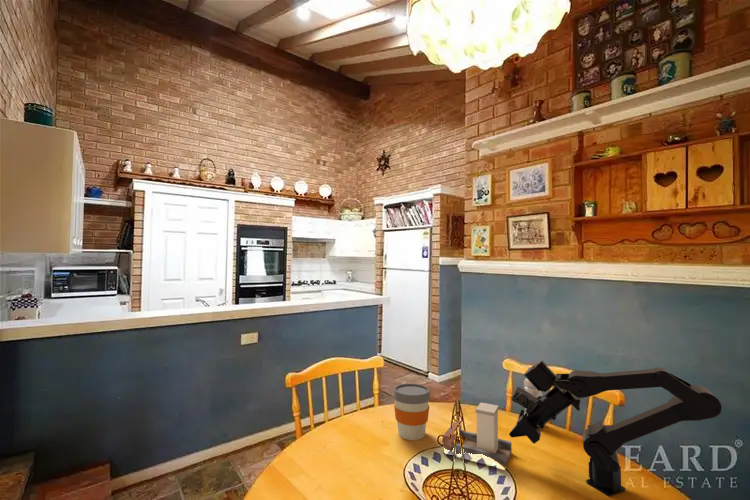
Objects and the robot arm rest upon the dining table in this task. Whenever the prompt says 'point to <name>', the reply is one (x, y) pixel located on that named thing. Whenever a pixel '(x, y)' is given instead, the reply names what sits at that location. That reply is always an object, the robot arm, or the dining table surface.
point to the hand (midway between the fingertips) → (510, 435)
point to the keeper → (487, 427)
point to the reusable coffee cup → (411, 410)
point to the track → (471, 445)
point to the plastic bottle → (531, 389)
